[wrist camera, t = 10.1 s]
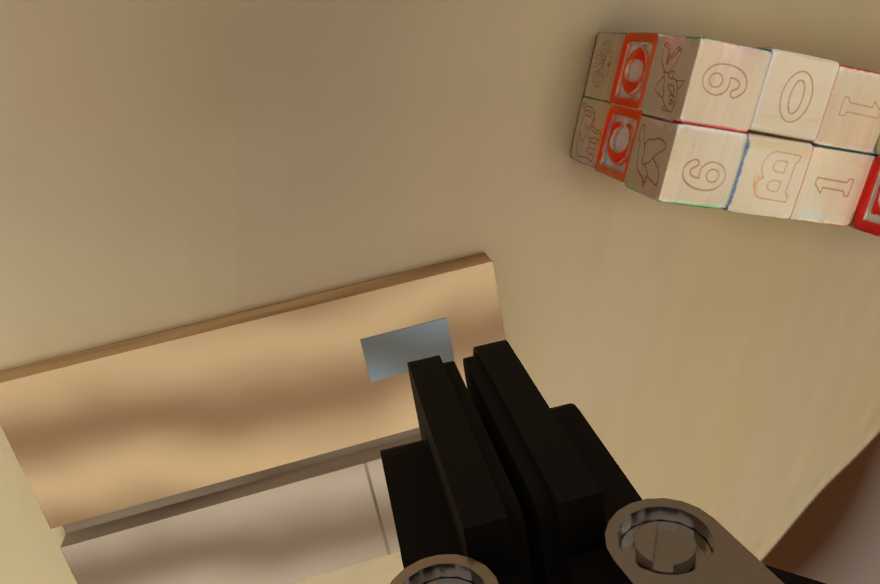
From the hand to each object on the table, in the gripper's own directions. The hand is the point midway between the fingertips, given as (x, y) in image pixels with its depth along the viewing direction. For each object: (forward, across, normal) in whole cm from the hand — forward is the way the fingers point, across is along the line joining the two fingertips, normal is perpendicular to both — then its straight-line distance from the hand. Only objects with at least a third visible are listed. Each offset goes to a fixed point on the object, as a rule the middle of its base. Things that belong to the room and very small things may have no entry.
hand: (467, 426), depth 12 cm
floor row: (+22, +6, +19) cm, 30 cm away
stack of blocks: (+24, -22, +3) cm, 33 cm away
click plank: (+23, +6, +11) cm, 26 cm away
